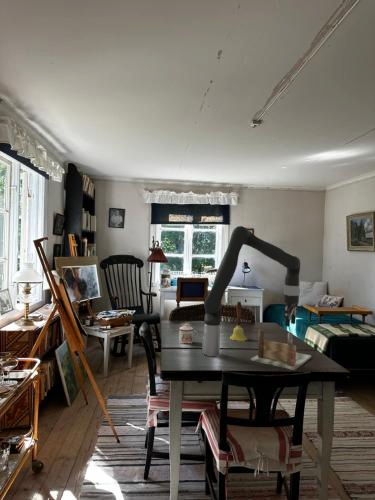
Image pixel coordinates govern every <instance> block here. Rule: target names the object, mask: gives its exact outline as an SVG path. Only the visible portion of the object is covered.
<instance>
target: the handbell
mask: <svg viewBox="0 0 375 500" xmlns="http://www.w3.org/2000/svg"><path fill="white" fill-rule="evenodd" d="M235 310H236V326H235V327H234V328H233V333H232V334H231V336H229V337H230V339H232V340H231V341H233V340H237V341H236V342H246V341H245V340H247V341H248V338H247V337H246V335H244V328H243V327H241V315H242V310H243V309H242V302H241V301H237V302H236V309H235ZM230 339H229V340H230Z"/></svg>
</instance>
